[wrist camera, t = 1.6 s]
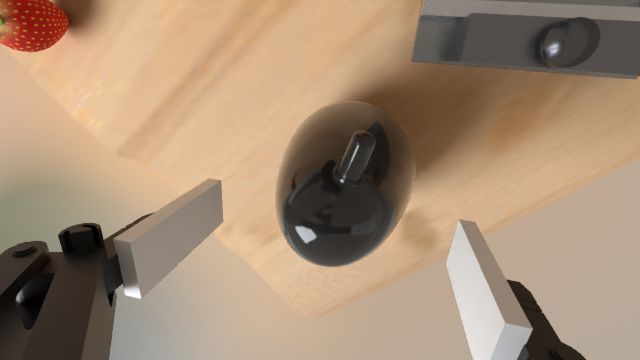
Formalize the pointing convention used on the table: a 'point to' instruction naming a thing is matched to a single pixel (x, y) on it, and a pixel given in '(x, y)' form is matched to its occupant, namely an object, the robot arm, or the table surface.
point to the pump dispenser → (344, 182)
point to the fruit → (31, 24)
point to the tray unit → (532, 35)
